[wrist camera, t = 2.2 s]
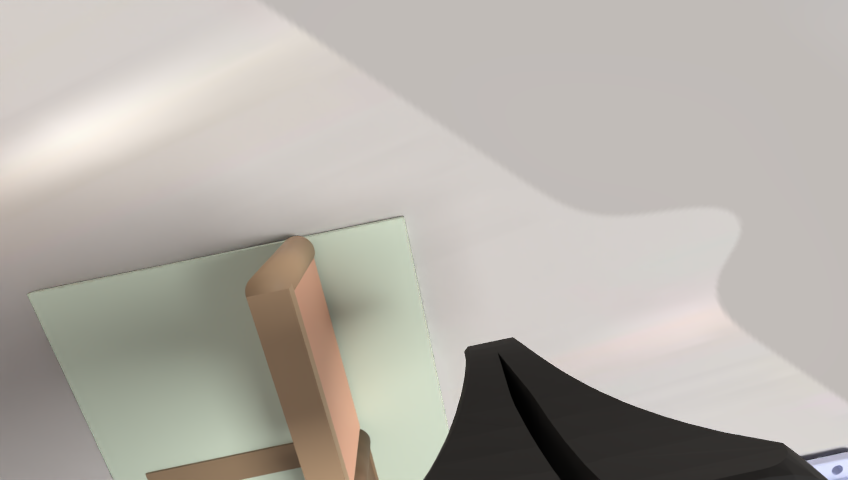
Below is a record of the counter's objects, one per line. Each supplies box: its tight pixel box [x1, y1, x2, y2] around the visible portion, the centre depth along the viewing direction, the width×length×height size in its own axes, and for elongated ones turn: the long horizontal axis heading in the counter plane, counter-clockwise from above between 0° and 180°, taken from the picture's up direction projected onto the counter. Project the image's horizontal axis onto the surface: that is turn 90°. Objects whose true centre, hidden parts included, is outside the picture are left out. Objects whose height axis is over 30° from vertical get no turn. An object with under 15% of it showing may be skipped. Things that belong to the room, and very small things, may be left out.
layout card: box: [27, 216, 449, 480], centre depth 19 cm, size 14×18×1 cm
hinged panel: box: [245, 236, 360, 480], centre depth 15 cm, size 1×8×4 cm, turn 11°
